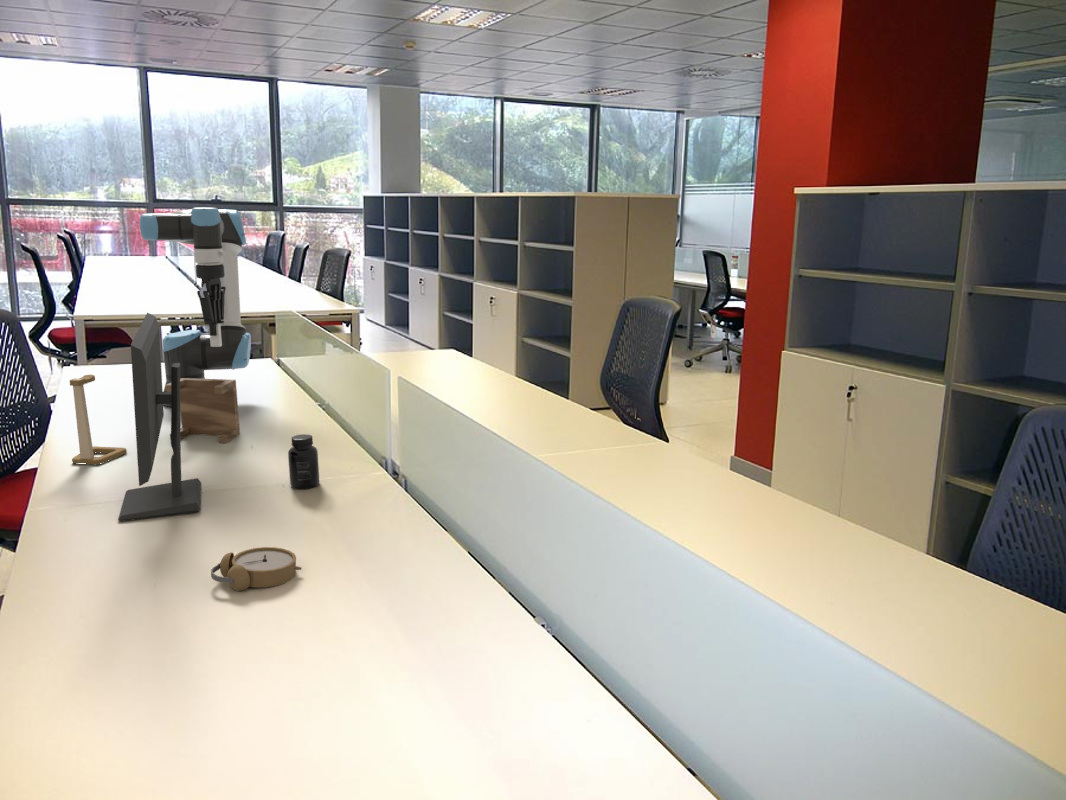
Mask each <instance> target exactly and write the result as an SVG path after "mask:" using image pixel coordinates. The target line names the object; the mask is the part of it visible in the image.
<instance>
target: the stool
mask: <svg viewBox="0 0 1066 800" xmlns="http://www.w3.org/2000/svg"><path fill="white" fill-rule="evenodd" d="M164 388H165V390H166V392H171V383H169V384H167V385H165V384H164ZM238 404H239V403H238V391H237V380H236V379H226V378H225V379H223V378H222V379H221V378H205V379H197V378H180V420H181V426H182V427H180V439H181V440H183V439H184V438H186V437H187V436H189V435H199V434H206V435H207V436H218V443H219V444H227V443H228V442H230V441H232V440H234V439H235V438H236V437H238V436H239V435H240V434H241V431H240V418H239V417H240V416H239V405H238ZM237 435H238V436H237ZM185 436H186V437H185ZM169 439H170V441H171V433H169Z"/></svg>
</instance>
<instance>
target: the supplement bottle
mask: <svg viewBox="0 0 1066 800" xmlns="http://www.w3.org/2000/svg"><path fill="white" fill-rule="evenodd" d="M313 444H314V439H313V436H312V435H311V434H296V435H293V436H292V437H291V446H292V447H290V448H289V450H288V451H287V457H288V468H289V469H288V470H289V471H288V473H289V482H290V483H289V484H290V485H289V486H291V488H293V489H297V490H306V489H313V488H315V487H317V486H319V483H320V466H319V451H318V449H317V447H316V446H314V445H313Z"/></svg>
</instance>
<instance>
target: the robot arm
mask: <svg viewBox="0 0 1066 800" xmlns="http://www.w3.org/2000/svg"><path fill="white" fill-rule="evenodd" d="M139 230H140V235H141V238H142V239H143V240H145V241H152V242H155V241H171V242H175V243H180V244H181V243H182V244H185V245H193V254H194V263H196V265H195V266H194V267H195V275H196V278H197V279H200V280H201V285H200V286H201V289H200V290H197V291H196V293H197V297H198V299H199V303H200V307H201V308H200V309H201V313H202V316H203V322H204V325H208V334H207V333H206V334H202V332H201V330H200V329H188V330H181V331H176V332H173V333H169V334H167V335H165V336H164V337H163V339H162V353H163V362H164V372H165V383H164V386H165V385H167V384H169V383H171V368H172V364H173V363H180V378H197V379H206V378H205V371H216V370H218V371H219V370H237V369H238V370H239V369H245V368H247V367H248V365H249V363H250V360H251V359H250V358H251V348H252V344H251V343H252V342H251V341H252V335H251V333H250V332H247V328H246V326H244V325H243V324H242V323H241V322H242V319H241V300H240V299H241V298H240V284H239V283H240V279H239V262H238V261H239V260H238V255H239V254H240V253H241V252H242V251H243V247H242V246H245V245H246V244H247V239H246V235H245V229H244V224H243V219H242V215H241V212H240V211H238V210H237V209H228V208H227V209H226V208H224V209H222V208H221V209H220V208H219V209H218V207H193V208H190V209H183V210H178V211H172V212H169V213H152V212H150V213H142V214H141V215H140V217H139ZM163 392H166V390H165V387H164V389H163ZM164 405H165V406H164ZM163 406H164V407H168V408H171V404H163Z"/></svg>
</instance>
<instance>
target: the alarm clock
mask: <svg viewBox="0 0 1066 800" xmlns="http://www.w3.org/2000/svg"><path fill="white" fill-rule="evenodd" d="M296 561H297V556H296V554H295V553H294V552H292V551H291V550H289V549H285V548H282V547H277V546H276V547H275V546H262V547H261V546H260V547H253V548H249V549H245V550H242V551H240V552H238V553H237V554H235V555H234V552H228V553H226V554H224V556H222V558H221V560H220V562H219V563H218V564H217V565H215V566H213V567H212V568H211V570H210V577H211V579H212V580H213V581H215V582H219V583H226V584H228V585H229V587H230V588H231V589H233V590H235V591H238V592H243V591H245V590H247V589H248V588H270V587H278V586H280V585H283V584H285V583H288V582H290V581H291V580H292V579H293V578H294V577H295V575H296V573H297V571H302V566H301V567H300V566H297V562H296ZM219 570H220V574H221V576H220V575H217V574H215V573H216V572H217V571H219Z"/></svg>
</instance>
